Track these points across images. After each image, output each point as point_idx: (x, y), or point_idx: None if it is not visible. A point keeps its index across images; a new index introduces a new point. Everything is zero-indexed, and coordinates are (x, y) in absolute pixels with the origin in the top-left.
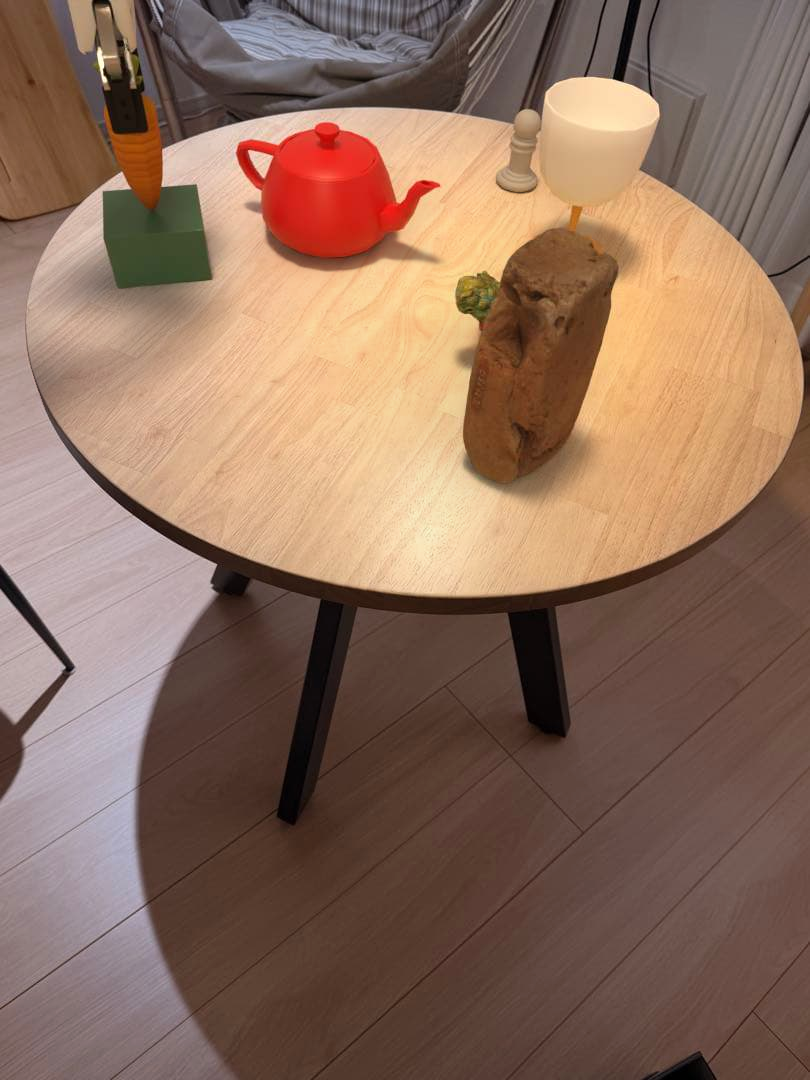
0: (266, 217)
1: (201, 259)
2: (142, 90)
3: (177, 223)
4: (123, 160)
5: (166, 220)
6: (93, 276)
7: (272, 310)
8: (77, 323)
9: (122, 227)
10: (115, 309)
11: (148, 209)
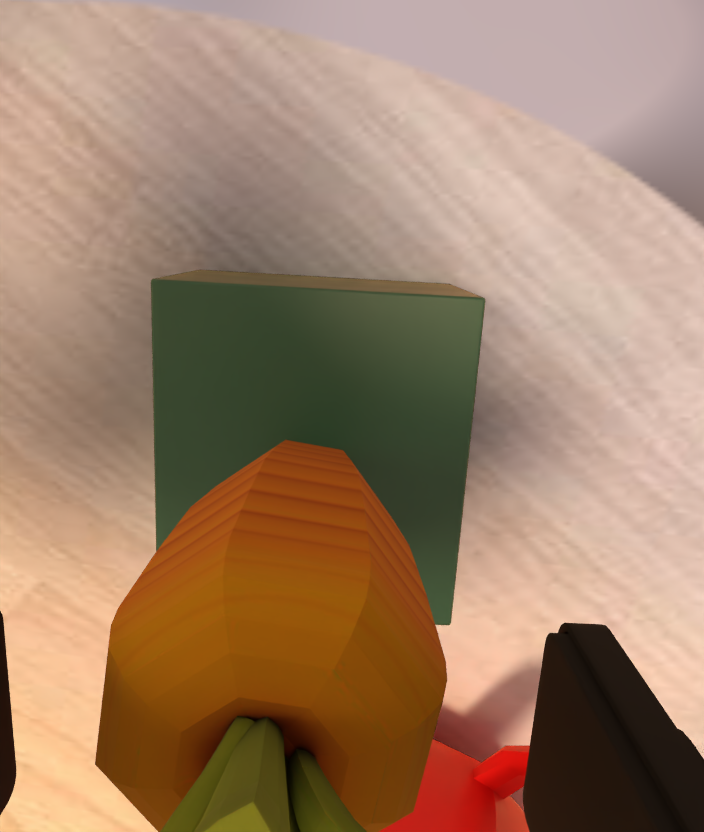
0: None
1: None
2: (527, 804)
3: None
4: (215, 492)
5: None
6: (275, 200)
7: (44, 651)
8: (43, 136)
9: (212, 353)
10: (98, 255)
11: None
